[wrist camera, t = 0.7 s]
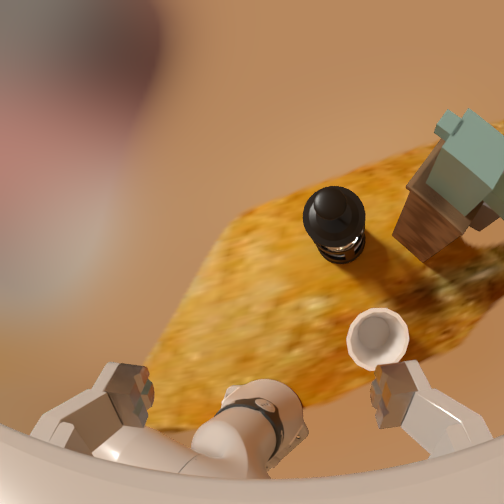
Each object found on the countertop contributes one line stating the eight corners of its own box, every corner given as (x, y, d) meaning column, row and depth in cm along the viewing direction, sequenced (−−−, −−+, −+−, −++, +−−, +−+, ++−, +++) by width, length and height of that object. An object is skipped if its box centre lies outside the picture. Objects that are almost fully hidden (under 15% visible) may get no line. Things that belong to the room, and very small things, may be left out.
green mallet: (537, 229, 26) (575, 209, 18) (516, 268, 27) (555, 256, 19) (439, 140, 32) (455, 98, 24) (414, 174, 33) (427, 136, 24)
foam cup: (339, 327, 57) (334, 333, 45) (378, 296, 56) (384, 294, 44) (368, 367, 54) (370, 383, 42) (407, 336, 53) (420, 344, 41)
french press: (375, 253, 58) (384, 223, 36) (330, 275, 60) (314, 258, 38) (347, 200, 61) (338, 145, 39) (305, 221, 63) (275, 177, 41)
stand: (449, 225, 53) (499, 175, 29) (421, 263, 54) (463, 234, 30) (416, 197, 56) (446, 131, 32) (388, 234, 57) (406, 185, 33)
